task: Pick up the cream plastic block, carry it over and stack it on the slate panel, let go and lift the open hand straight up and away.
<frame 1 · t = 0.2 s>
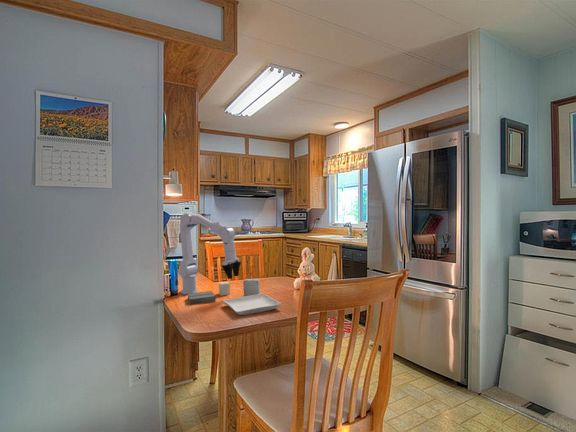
hand: (233, 277, 166), 10 cm above the table, tool pointing down, fingers open, 7 cm apart
medicine box: (252, 296, 167), on the table
cream block: (224, 293, 174), on the table
slate panel: (201, 300, 162), on the table
salad plate: (251, 309, 147), on the table
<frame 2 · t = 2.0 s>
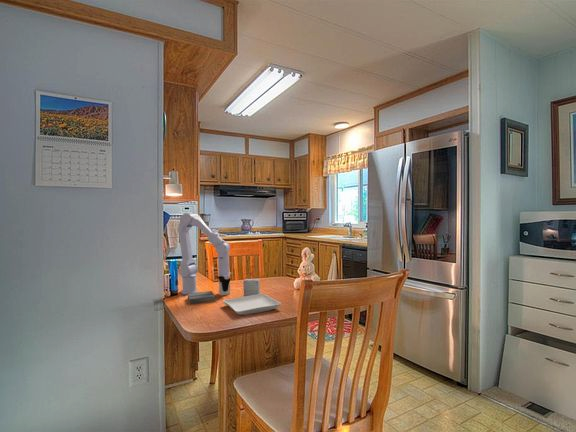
hand: (224, 290, 174), 2 cm above the table, tool pointing down, fingers closed on cream block, 5 cm apart
cream block: (224, 293, 174), on the table, touching gripper
everything else where it was.
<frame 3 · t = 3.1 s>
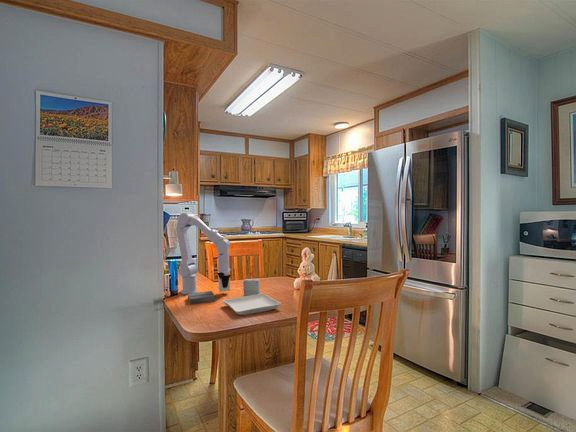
hand: (224, 286, 174), 4 cm above the table, tool pointing down, fingers closed on cream block, 5 cm apart
cream block: (224, 290, 174), point 2 cm above the table, touching gripper
everything else where it was.
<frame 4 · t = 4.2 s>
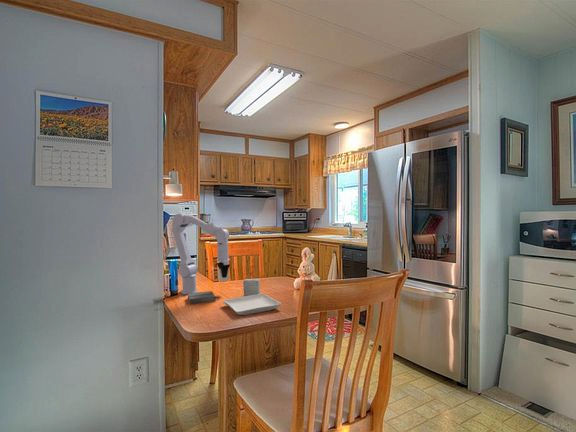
hand: (223, 276, 174), 9 cm above the table, tool pointing down, fingers closed on cream block, 5 cm apart
cream block: (223, 280, 174), point 7 cm above the table, touching gripper
everything else where it was.
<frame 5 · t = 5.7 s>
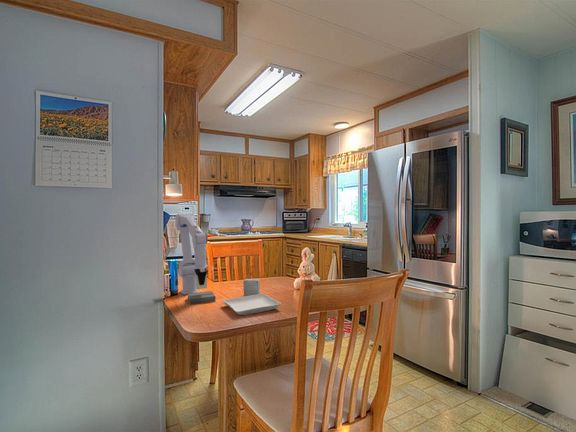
hand: (201, 283, 162), 8 cm above the table, tool pointing down, fingers closed on cream block, 5 cm apart
cream block: (201, 287, 162), point 6 cm above the table, touching gripper
everything else where it was.
when the fingers open (6 cm above the table, at t = 6.6 s): cream block drops 2 cm, resting on slate panel.
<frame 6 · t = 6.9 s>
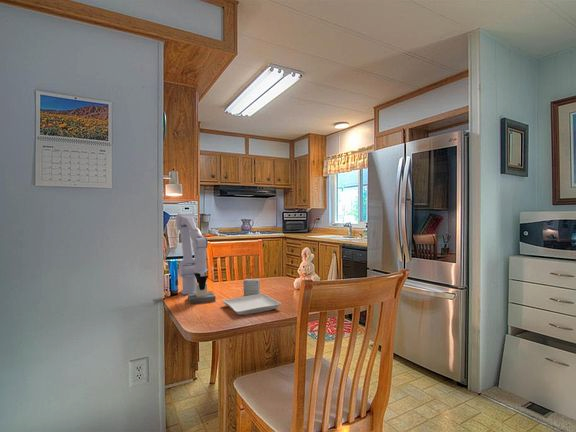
hand: (201, 288, 162), 6 cm above the table, tool pointing down, fingers open, 7 cm apart
cream block: (201, 295, 162), point 2 cm above the table, touching slate panel
slate panel: (201, 301, 162), on the table, touching cream block
everything else where it was.
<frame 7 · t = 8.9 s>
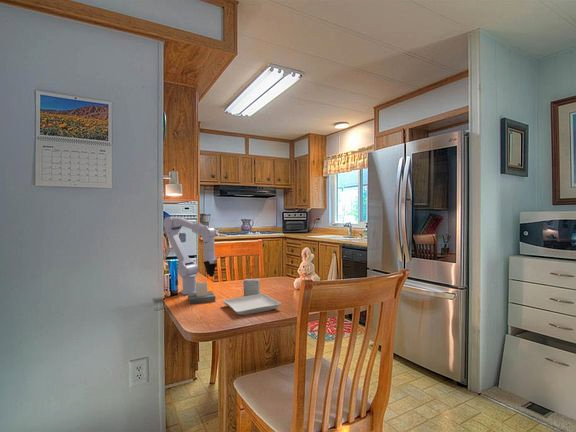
hand: (210, 275, 172), 10 cm above the table, tool pointing down, fingers open, 7 cm apart
cream block: (201, 295, 162), point 2 cm above the table
slate panel: (201, 301, 162), on the table
everything else where it was.
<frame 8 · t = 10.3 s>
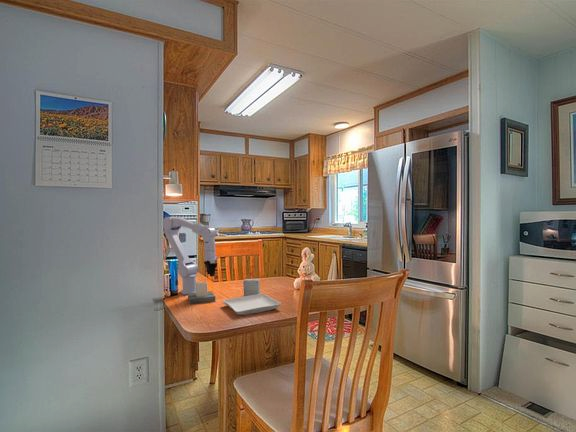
hand: (211, 275, 173), 10 cm above the table, tool pointing down, fingers open, 7 cm apart
cream block: (201, 295, 162), point 2 cm above the table, touching slate panel
slate panel: (201, 301, 162), on the table, touching cream block
everything else where it was.
at the end: cream block inside the target area on the slate panel (0.1 cm from its centre), point 3.0 cm above the slate panel's base; cream block tilted 0°; the gripper is holding nothing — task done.
